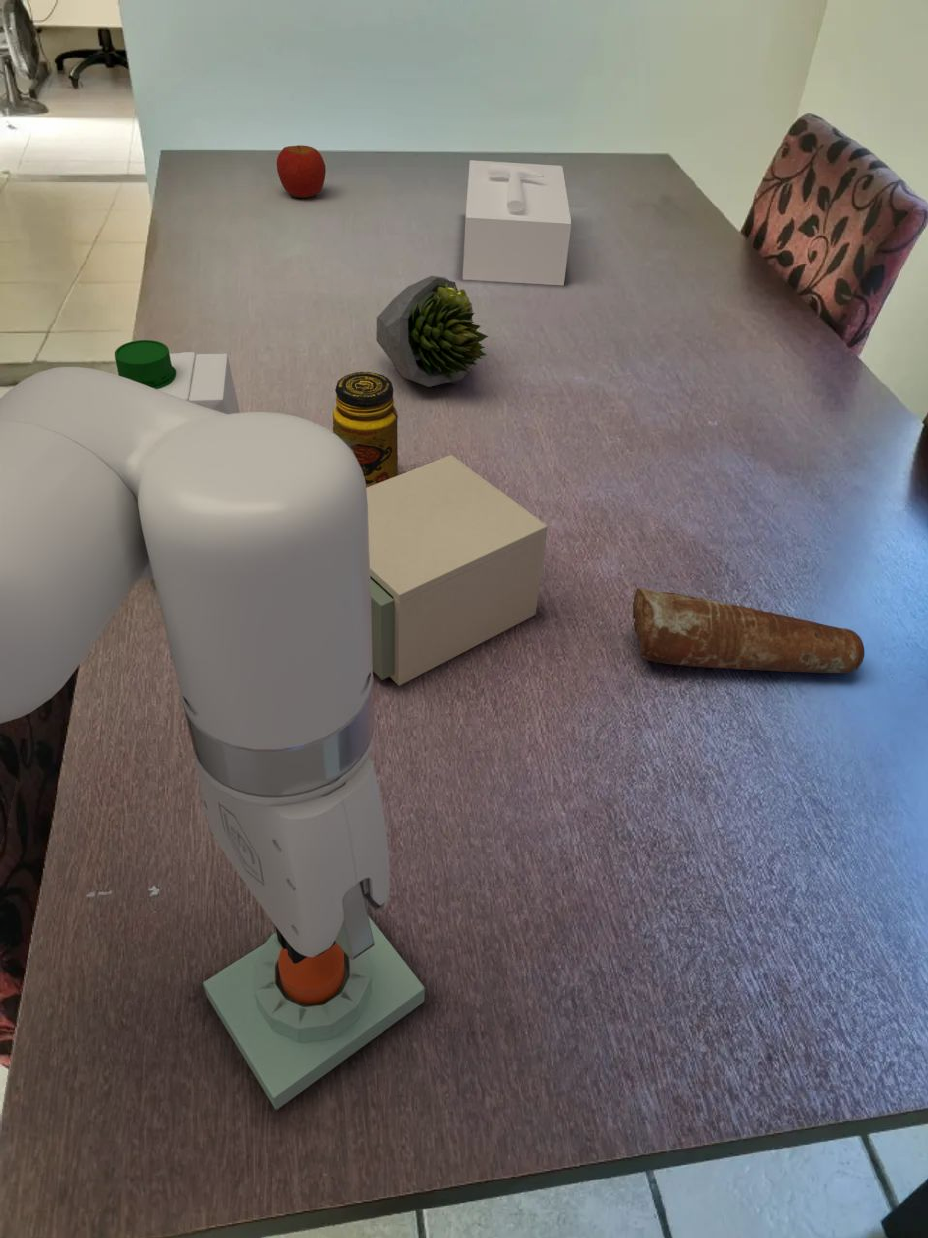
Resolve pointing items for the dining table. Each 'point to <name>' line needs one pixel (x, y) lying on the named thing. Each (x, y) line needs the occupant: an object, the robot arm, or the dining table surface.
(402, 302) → the potted plant
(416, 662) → the cabinet
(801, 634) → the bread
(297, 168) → the apple
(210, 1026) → the dining table surface
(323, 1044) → the block
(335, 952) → the button
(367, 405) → the condiment
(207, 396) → the milk carton
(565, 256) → the white embossed block
